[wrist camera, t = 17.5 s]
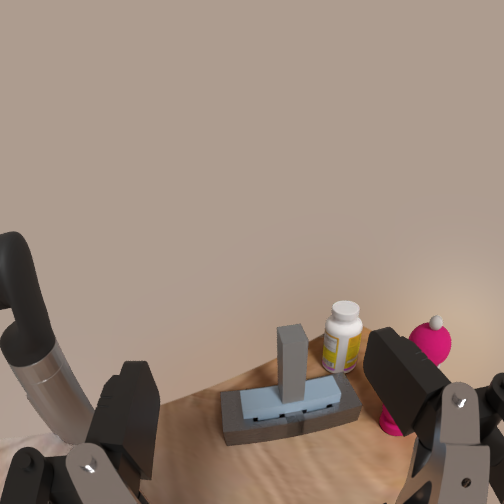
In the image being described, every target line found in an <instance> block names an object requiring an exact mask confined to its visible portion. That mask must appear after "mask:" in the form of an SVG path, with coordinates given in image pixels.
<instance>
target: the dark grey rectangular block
mask: <svg viewBox="0 0 504 504" xmlns="http://www.w3.org/2000/svg"><path fill="white" fill-rule="evenodd" d="M328 376H333V378H334V380H335V382H336V384H337V385H338V387H339V389H340V391H341V397H340V402H336V403H332V404H328V405H327V406H326V409H322V410H318V411H313V412H309V413H304V414H303V412H302V410H301V411H296V412H290V413H284V414H280V415H281V418H278V419H272V420H265V421H258V422H253V418H250V419H244V417H243V411H242V403H241V395H240V391H243V390H237V391H228V392H220V393H221V408H222V422H223V433H224V437H225V440H226V444H227V446H232V445H242V444H250V443H258V442H265V441H271V440H277V439H283V438H289V437H294V436H299V435H303V434H308V433H312V432H317V431H321V430H325V429H329V428H332V427H336V426H340V425H343V424H346V423H350V422H353V421H356V420H358V417H359V414H360V411H361V408H362V403H361V401H360V400H359V398H358V396H357V394H356V393H355V391H354V389H353V387H352V386H351V384H350V382H349V380H348V379H347V377H346V375H345V373H344V372H339V373H335V374H331V375H326V376H322V377H317V378H313V379H318V378H323V377H328ZM313 379H308V380H313ZM308 380H306V381H308ZM274 386H278V385H274ZM274 386H268V387H274ZM261 388H267V387H261ZM254 389H259V388H254ZM246 390H251V389H246Z"/></svg>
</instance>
